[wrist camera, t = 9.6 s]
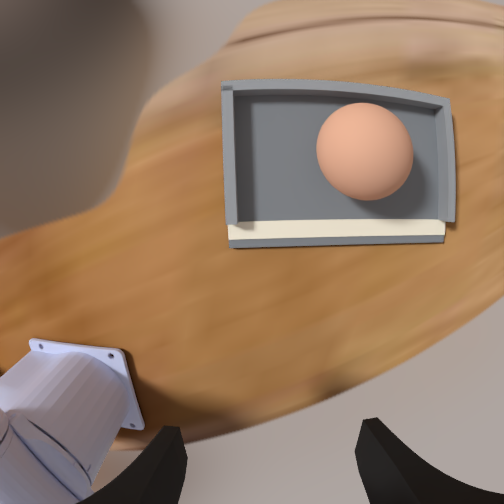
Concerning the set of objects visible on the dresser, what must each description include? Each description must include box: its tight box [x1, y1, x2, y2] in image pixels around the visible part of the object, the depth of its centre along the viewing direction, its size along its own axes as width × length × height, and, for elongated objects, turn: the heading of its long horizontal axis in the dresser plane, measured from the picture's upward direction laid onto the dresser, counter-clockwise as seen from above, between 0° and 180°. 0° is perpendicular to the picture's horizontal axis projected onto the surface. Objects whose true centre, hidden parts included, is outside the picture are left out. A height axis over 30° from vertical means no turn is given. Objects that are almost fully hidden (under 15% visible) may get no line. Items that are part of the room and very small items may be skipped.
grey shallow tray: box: [221, 79, 456, 248], centre depth 16 cm, size 14×9×2 cm
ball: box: [316, 103, 413, 201], centre depth 14 cm, size 5×5×5 cm
